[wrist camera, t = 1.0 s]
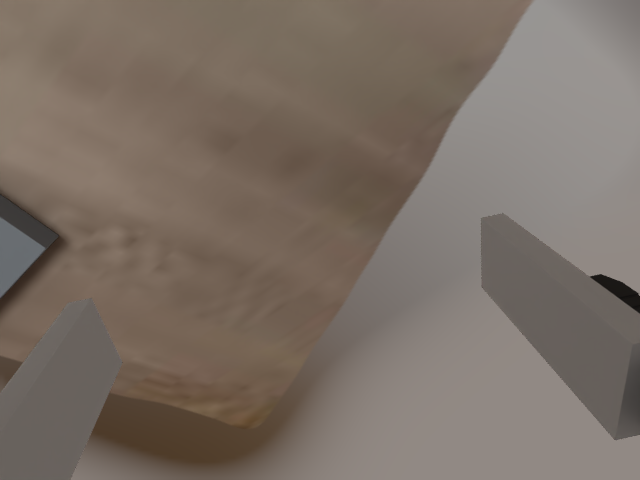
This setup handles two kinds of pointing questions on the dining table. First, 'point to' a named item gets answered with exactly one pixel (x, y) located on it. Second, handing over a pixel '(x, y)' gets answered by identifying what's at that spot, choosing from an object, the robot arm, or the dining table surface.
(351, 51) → the dining table surface
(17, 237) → the plate
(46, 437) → the robot arm
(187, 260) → the dining table surface
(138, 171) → the dining table surface
